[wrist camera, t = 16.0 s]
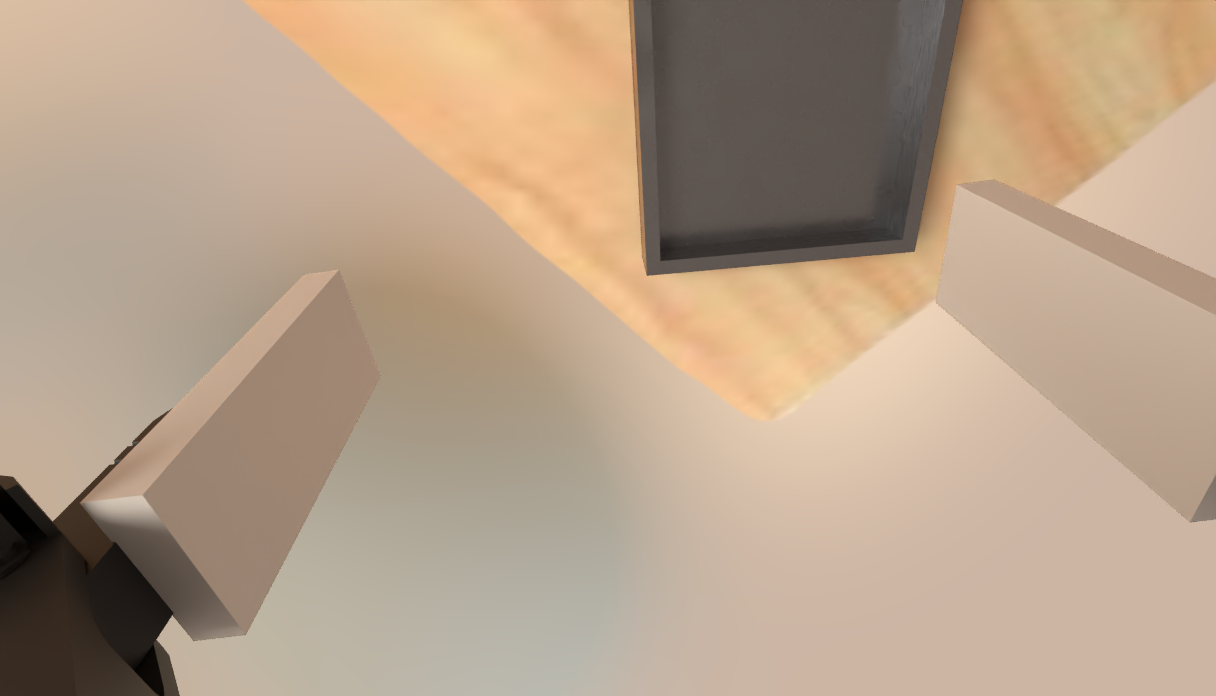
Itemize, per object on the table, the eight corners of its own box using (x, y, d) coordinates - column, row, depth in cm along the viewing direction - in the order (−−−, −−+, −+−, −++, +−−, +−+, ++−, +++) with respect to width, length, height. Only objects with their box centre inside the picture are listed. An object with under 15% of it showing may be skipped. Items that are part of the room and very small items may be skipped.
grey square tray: (626, -41, 35) (631, -46, 32) (943, -70, 35) (978, -78, 32) (642, 257, 45) (646, 275, 42) (891, 235, 45) (914, 251, 42)
